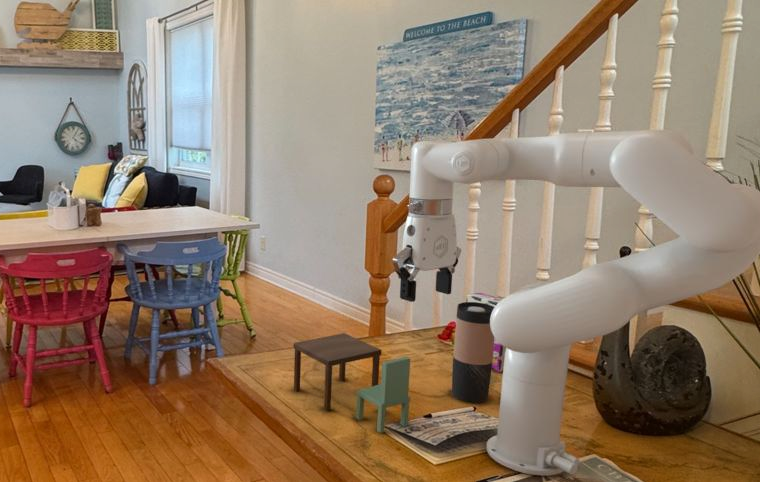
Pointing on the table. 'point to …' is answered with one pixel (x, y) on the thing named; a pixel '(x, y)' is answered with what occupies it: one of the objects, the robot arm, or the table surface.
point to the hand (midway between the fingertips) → (425, 296)
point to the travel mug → (472, 352)
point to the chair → (388, 391)
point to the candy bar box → (498, 348)
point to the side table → (335, 358)
